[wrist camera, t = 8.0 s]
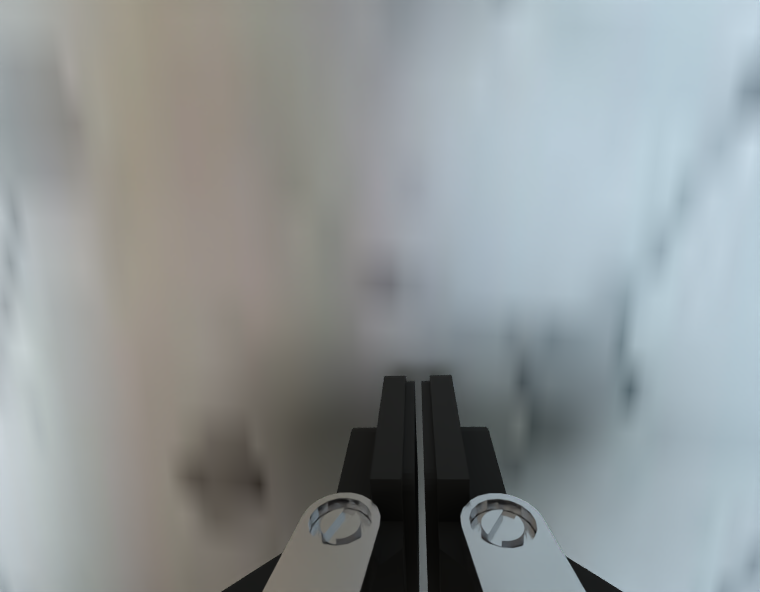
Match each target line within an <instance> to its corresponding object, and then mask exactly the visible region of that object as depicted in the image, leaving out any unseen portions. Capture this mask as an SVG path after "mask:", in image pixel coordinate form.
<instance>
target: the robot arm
mask: <svg viewBox="0 0 760 592" xmlns="http://www.w3.org/2000/svg"><path fill="white" fill-rule="evenodd" d="M421 385H422V416H423V448H424V480H425V512H426V544H427V575H428V592H622V591H621V590H619V589H617V588H616V587H614V586H613V585H611V584H609V583H608V582H606V581H605V580H603V579H601V578H600V577H598V576H597V575H595V574H593V573H592V572H590V571H588V570H587V569H585V568H584V567H582V566H580V565H579V564H577V563H576V562H574V561H572V560H571V559H569V558H568V557H566V556H565V555H564V553H563V551H562V549H561V548H560V546H559V544H558V542H557V541H556V539H555V537H554V535H553V534H552V532H551V530H550V528H549V527H548V525H547V523H546V521H545V520H544V518H543V517H542V515H541V514H540V513H539V512H538V510H537V509H536V508H535V507H533V506H532V505H531V504H529V503H528V502H526V501H524V500H522V499H520V498H518V497H515V496H511V495H507V494H506V491H505V488H504V484H503V480H502V477H501V473H500V470H499V466H498V463H497V459H496V455H495V452H494V448H493V445H492V441H491V437H490V434H489V431H488V428H487V427H460V421H459V416H458V410H457V404H456V399H455V393H454V387H453V382H452V376H451V375H433V376H430V381H421ZM222 592H419V514H418V464H417V436H416V408H415V382H406V376H385V377H384V383H383V390H382V397H381V404H380V411H379V418H378V425H377V428H353V429H352V432H351V436H350V440H349V444H348V448H347V452H346V457H345V461H344V465H343V469H342V474H341V478H340V482H339V486H338V491H337V493H336V494H331V495H328V496H325V497H323V498H321V499H319V500H317V501H316V502H314V503H313V504H312V505H310V506H309V507H308V508H307V510H306V511H305V512H304V514H303V515H302V517H301V519H300V521H299V523H298V524H297V526H296V528H295V530H294V532H293V534H292V536H291V538H290V540H289V542H288V544H287V546H286V547H285V549H284V551H283V553H282V554H280V555H278V556H277V557H275V558H274V559H272V560H271V561H269V562H267V563H266V564H264V565H263V566H261V567H259V568H258V569H256V570H255V571H253V572H252V573H250V574H248V575H247V576H245V577H244V578H242V579H241V580H239V581H237V582H236V583H234V584H233V585H231V586H230V587H228V588H226V589H225V590H223V591H222Z"/></svg>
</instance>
